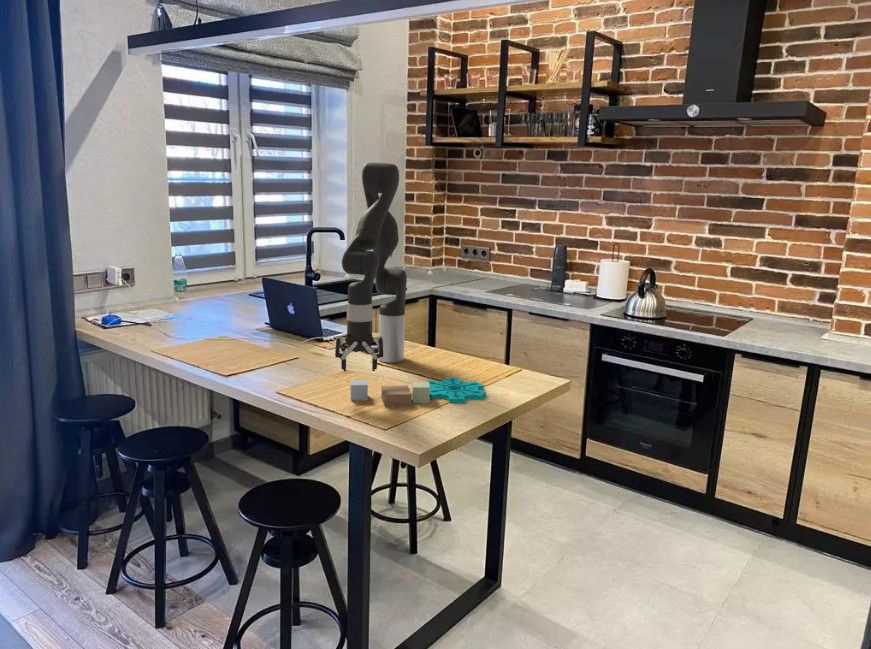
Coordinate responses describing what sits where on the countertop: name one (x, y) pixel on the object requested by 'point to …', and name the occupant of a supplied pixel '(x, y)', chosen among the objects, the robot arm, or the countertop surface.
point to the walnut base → (396, 396)
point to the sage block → (420, 392)
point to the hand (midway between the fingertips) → (359, 370)
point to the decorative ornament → (456, 390)
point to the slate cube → (359, 390)
